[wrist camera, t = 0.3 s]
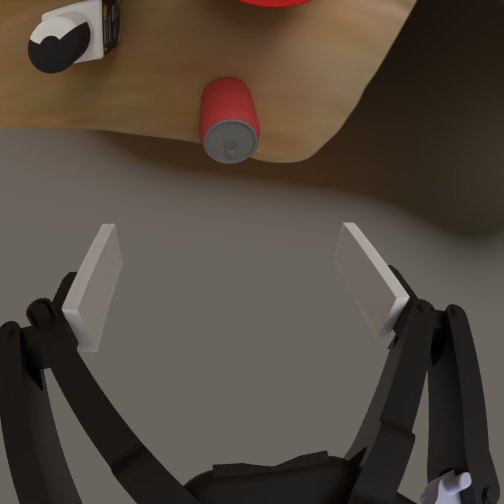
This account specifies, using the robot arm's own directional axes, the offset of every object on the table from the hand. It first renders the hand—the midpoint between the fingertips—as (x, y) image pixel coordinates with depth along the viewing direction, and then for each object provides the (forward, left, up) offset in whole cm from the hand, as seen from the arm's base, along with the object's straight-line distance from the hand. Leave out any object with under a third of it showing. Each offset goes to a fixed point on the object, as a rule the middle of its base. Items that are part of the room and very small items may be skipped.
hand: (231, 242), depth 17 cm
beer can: (+2, +3, -28) cm, 28 cm away
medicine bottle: (+5, -18, -28) cm, 33 cm away
